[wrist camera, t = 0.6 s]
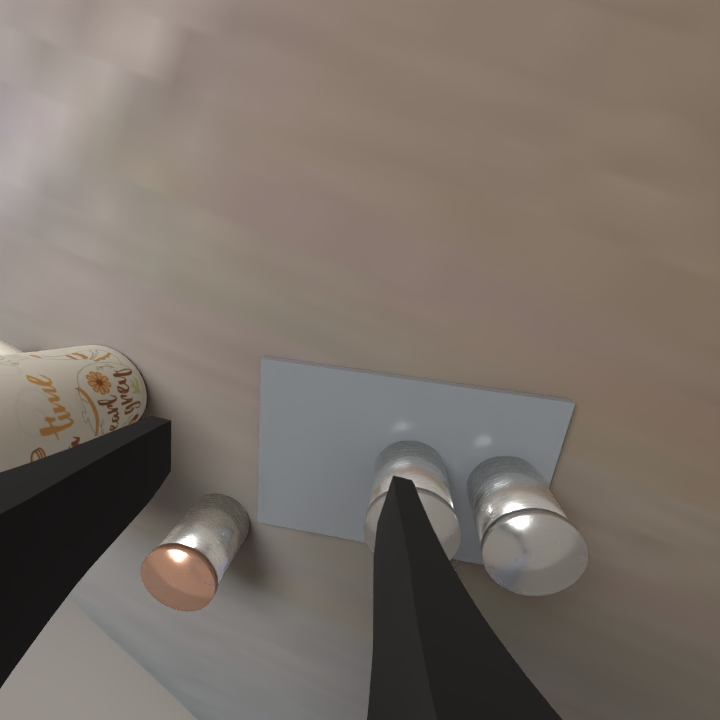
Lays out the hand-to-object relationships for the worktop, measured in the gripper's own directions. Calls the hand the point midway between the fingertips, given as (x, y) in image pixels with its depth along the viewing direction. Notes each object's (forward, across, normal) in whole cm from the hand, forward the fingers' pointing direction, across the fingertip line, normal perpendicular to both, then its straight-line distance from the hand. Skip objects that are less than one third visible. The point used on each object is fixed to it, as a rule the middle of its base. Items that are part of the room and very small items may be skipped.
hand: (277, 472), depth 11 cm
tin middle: (+9, -6, +6) cm, 12 cm away
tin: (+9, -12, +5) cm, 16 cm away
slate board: (+10, -6, +6) cm, 13 cm away
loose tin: (+9, +6, +14) cm, 18 cm away
